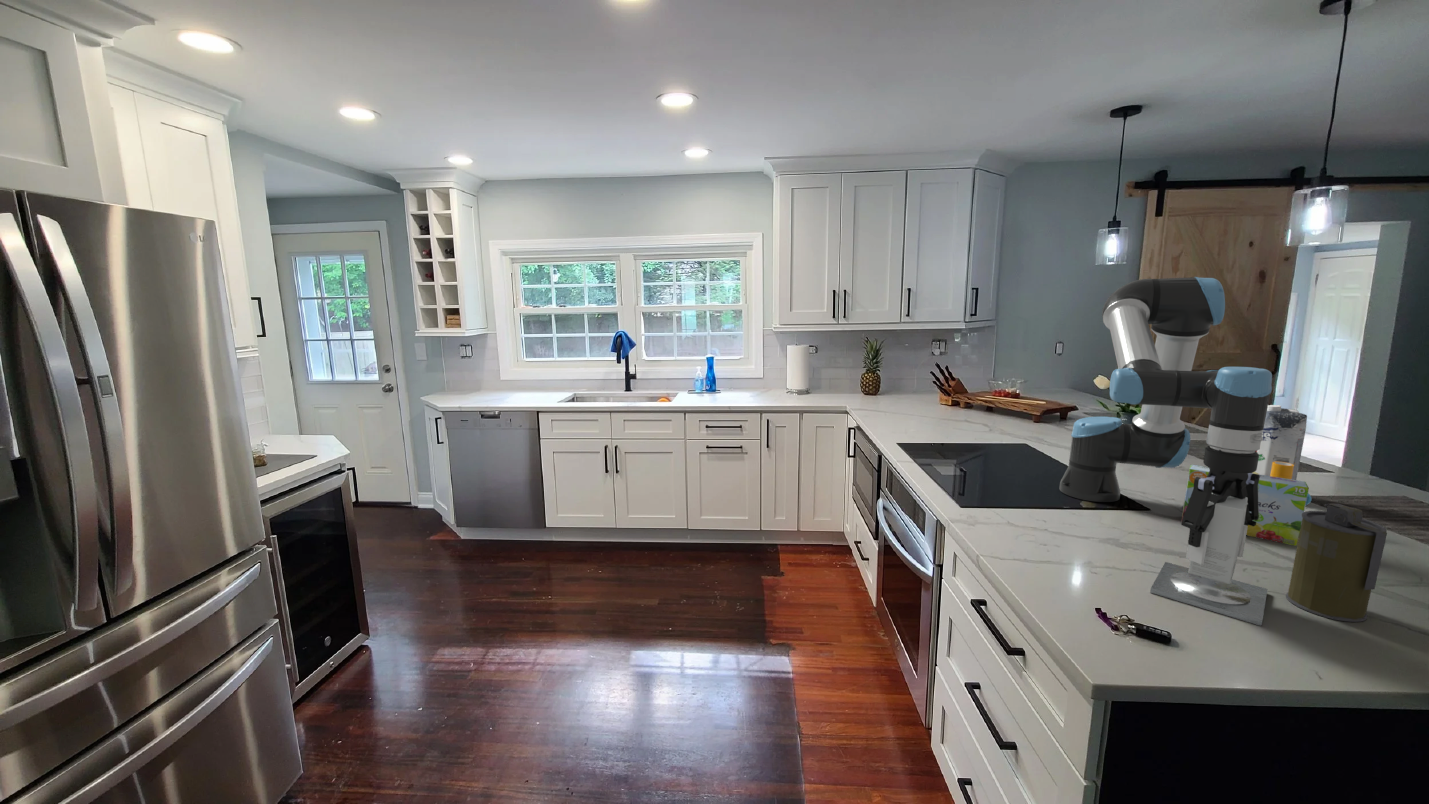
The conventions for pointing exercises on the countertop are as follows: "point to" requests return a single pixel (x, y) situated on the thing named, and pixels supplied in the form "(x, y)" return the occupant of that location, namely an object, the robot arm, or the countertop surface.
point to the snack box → (1269, 506)
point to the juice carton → (1281, 439)
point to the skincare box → (1222, 541)
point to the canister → (1336, 563)
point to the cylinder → (1284, 473)
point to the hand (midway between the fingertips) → (1214, 557)
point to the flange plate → (1211, 593)
